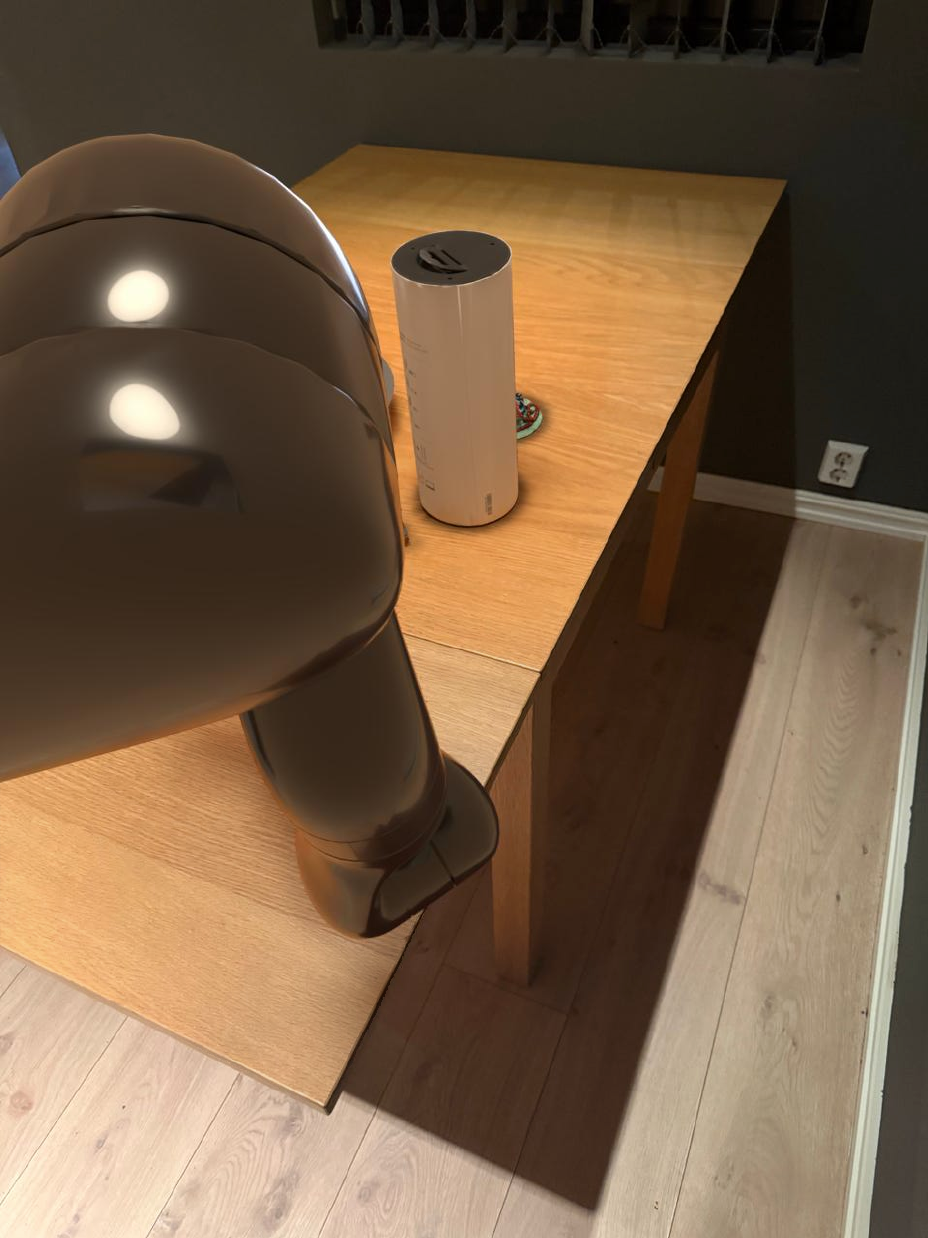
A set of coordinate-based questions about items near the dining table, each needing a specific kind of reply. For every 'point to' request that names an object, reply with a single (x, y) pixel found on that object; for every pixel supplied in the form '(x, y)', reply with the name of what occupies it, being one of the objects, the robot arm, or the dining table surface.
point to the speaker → (459, 371)
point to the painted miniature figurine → (526, 416)
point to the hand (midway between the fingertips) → (192, 518)
